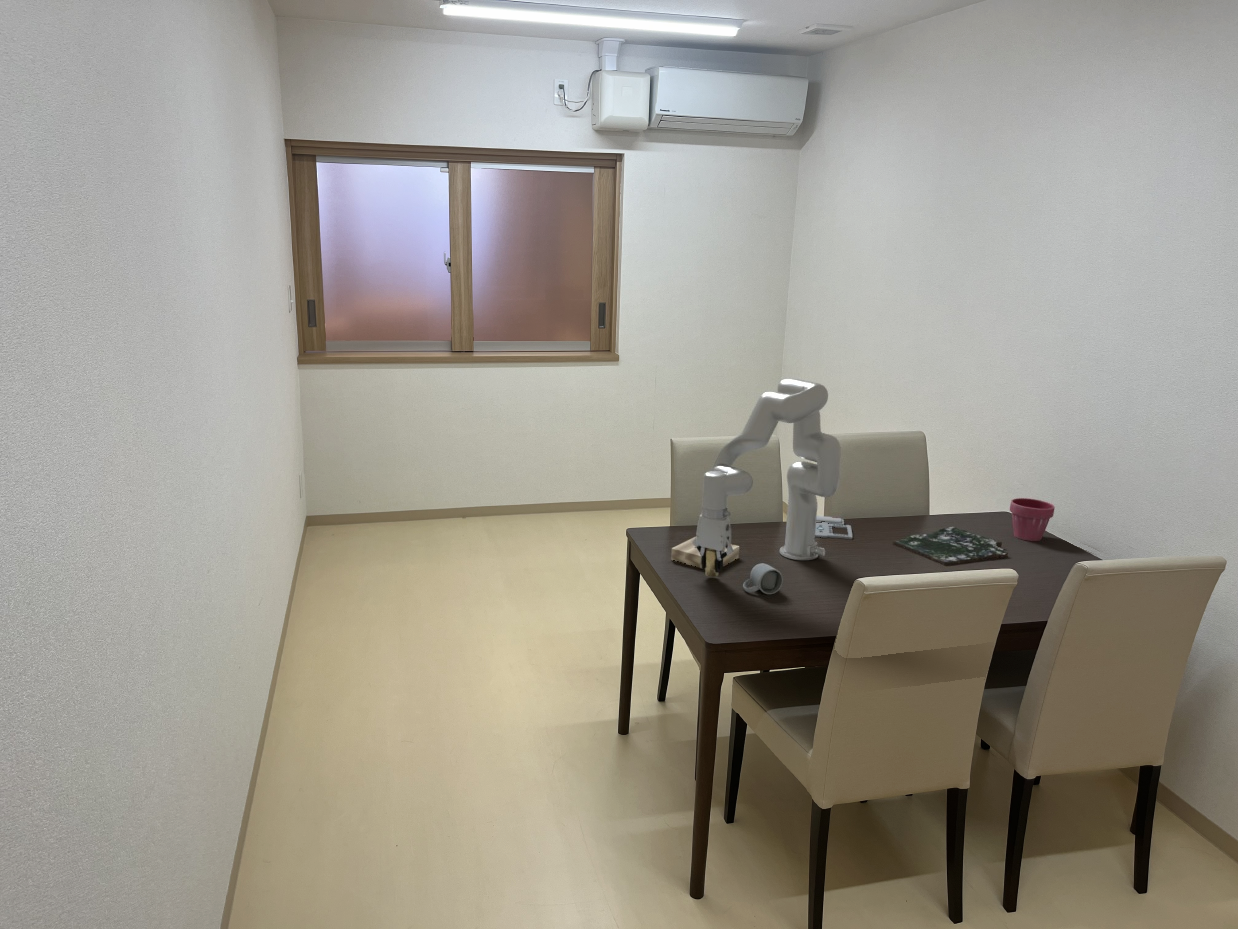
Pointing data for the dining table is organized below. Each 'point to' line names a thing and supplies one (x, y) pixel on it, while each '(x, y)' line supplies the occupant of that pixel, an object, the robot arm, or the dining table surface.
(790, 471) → the robot arm
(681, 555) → the block
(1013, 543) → the dining table surface
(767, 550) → the dining table surface
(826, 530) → the office telephone
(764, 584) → the ceramic mug
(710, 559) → the brass pin
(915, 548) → the topographical map
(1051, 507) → the plant pot
